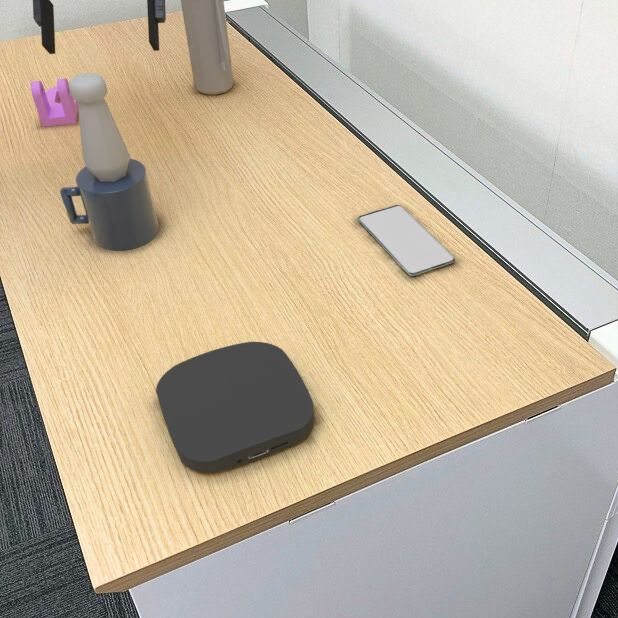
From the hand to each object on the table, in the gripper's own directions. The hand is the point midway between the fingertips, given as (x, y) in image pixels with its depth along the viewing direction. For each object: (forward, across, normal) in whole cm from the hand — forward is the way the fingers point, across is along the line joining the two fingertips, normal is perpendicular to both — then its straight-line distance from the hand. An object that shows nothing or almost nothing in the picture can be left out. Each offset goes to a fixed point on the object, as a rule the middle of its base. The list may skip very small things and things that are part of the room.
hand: (101, 48), depth 96 cm
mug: (+23, +1, -7) cm, 24 cm away
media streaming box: (+47, -17, +17) cm, 53 cm away
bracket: (-5, +17, -35) cm, 39 cm away
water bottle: (-9, -10, -39) cm, 41 cm away
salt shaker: (+16, 0, -1) cm, 16 cm away
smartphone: (+26, -39, -3) cm, 47 cm away
